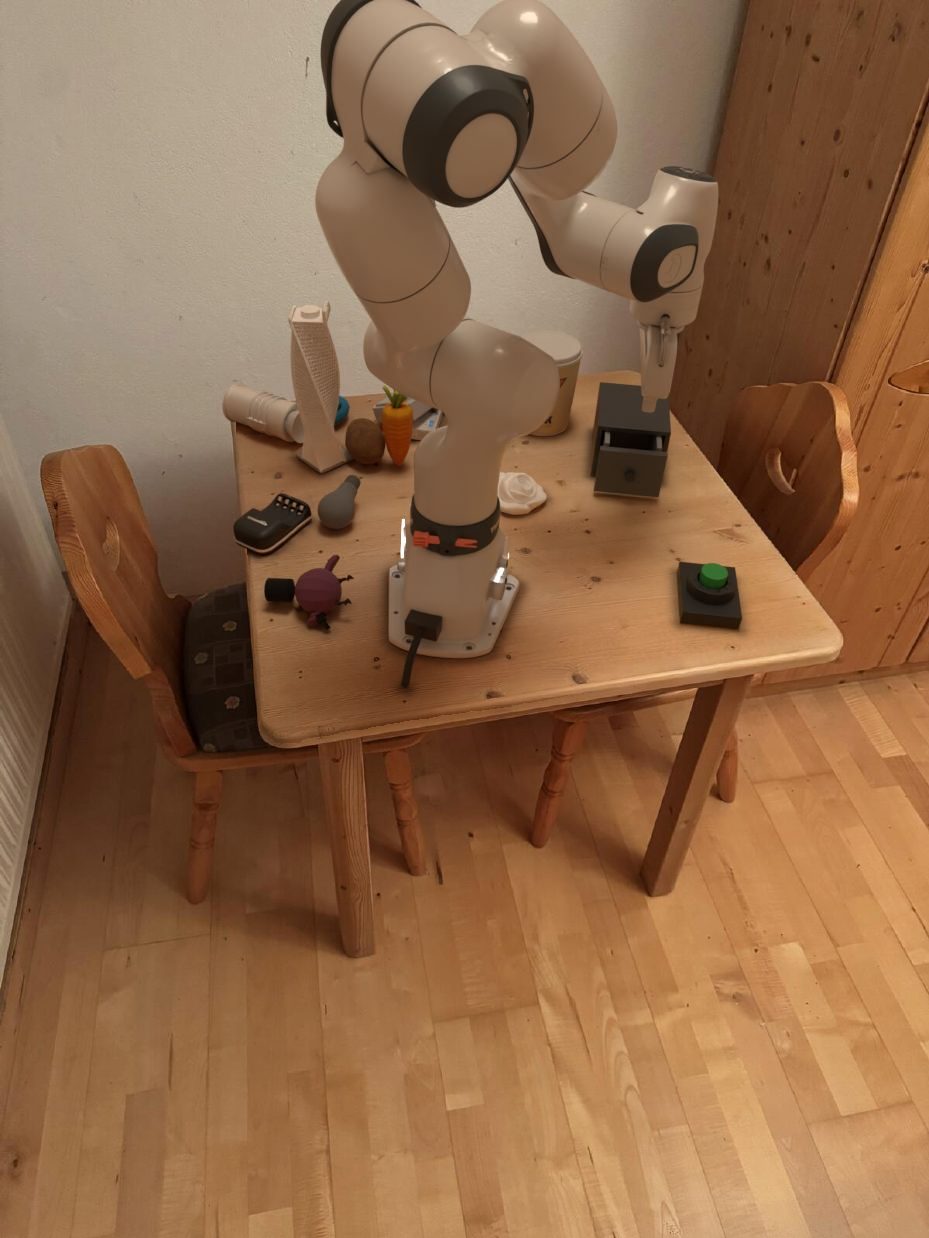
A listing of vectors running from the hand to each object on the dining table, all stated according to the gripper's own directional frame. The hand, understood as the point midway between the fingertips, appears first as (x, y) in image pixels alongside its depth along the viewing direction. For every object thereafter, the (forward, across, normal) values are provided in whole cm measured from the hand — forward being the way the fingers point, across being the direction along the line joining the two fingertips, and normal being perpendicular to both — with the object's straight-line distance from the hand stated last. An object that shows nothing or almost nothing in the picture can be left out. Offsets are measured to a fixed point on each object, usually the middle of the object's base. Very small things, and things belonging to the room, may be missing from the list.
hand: (647, 395), depth 126 cm
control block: (+21, -18, -12) cm, 30 cm away
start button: (+17, -19, -12) cm, 28 cm away
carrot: (+21, +8, +38) cm, 44 cm away
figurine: (+19, -29, +49) cm, 60 cm away
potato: (+15, +9, +44) cm, 47 cm away
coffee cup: (+21, +26, +15) cm, 37 cm away
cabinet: (+21, +18, 0) cm, 27 cm away
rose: (+21, +2, +17) cm, 27 cm away
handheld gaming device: (+16, +17, +41) cm, 47 cm away
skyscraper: (+21, +7, +50) cm, 55 cm away
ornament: (+19, +18, +50) cm, 56 cm away
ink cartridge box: (+20, +22, +33) cm, 44 cm away
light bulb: (+16, -3, +42) cm, 46 cm away
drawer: (+20, +11, 0) cm, 23 cm away
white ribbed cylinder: (+18, +11, +55) cm, 59 cm away
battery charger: (+19, -8, +51) cm, 55 cm away
